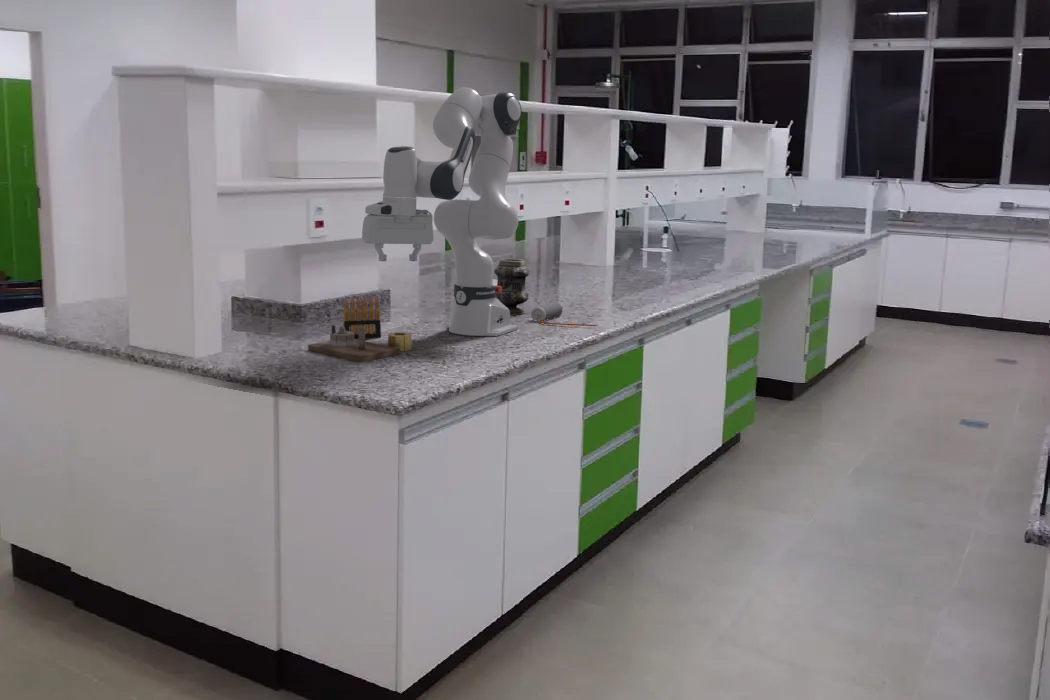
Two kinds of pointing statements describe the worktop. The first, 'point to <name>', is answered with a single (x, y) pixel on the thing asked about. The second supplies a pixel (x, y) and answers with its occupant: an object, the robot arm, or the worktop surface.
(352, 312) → the ammunition clip
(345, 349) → the gear board
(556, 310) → the motor
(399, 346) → the octagonal hollow tube
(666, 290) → the worktop surface
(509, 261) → the apothecary jar
